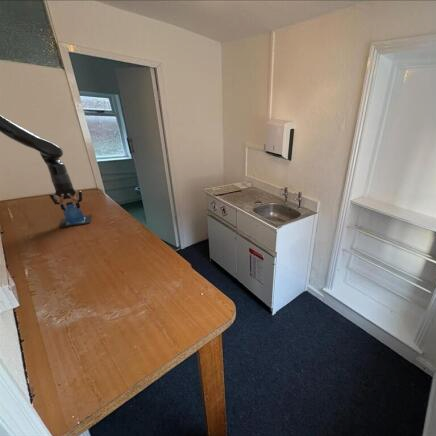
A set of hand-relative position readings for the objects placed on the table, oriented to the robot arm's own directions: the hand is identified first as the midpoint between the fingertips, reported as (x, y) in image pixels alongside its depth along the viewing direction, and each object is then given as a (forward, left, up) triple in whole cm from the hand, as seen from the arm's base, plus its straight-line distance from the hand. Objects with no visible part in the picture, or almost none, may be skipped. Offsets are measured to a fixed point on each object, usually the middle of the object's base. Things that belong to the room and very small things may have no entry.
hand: (71, 209), depth 136 cm
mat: (0, 0, -8) cm, 8 cm away
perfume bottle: (0, 0, -8) cm, 8 cm away
